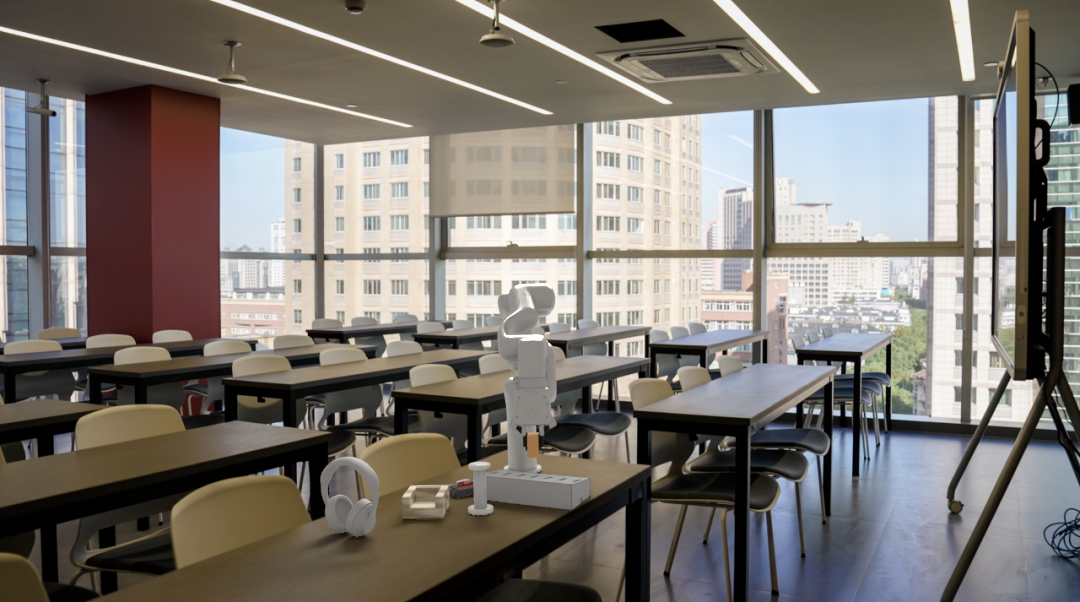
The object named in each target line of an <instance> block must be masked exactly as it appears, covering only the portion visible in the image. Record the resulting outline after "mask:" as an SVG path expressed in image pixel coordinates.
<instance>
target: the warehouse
mask: <svg viewBox="0 0 1080 602" xmlns="http://www.w3.org/2000/svg"><path fill="white" fill-rule="evenodd" d="M486 481H487V501H488V500H491V501H490V502H496V501H498V502H497V503H505V502H506V503H507V504H515V505H518V504H519V505H525V506H533V507H542V508H549V507H550V508H551V509H558V508H559V509H561V510H567V511H569V510H570V511H573V510H574V509H575V508H576V507H578V506H579V505H581V504H582V503H584V502H585V501H586V500H587V499H588V498H589V496H590V497H591V496H592V495H591V491H592V490H591V478H590V477H583V476H581V477H579V476H572V475H571V476H570V475H560V474H559V475H558V474H550V473H549V474H546V473H540V472H538V473H529V472H518V471H507V470H504V469H497V470H493V471H488V472H487V471H486ZM550 508H549V509H550Z"/></svg>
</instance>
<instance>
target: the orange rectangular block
mask: <svg viewBox="0 0 1080 602" xmlns="http://www.w3.org/2000/svg"><path fill="white" fill-rule="evenodd" d="M538 436H539V432H537V431H536V432H534V433H528V435H527V453H528V458H537V459H539V458H540V450H539V443H538Z"/></svg>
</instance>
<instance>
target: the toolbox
mask: <svg viewBox="0 0 1080 602" xmlns="http://www.w3.org/2000/svg"><path fill="white" fill-rule="evenodd" d="M448 485H449V494H450V495H451V494H452V495H451V496H452V497H453V498H454V497H455V496H456V498H457V497H462V498H464V497H463V496H467V497H469V496H468V495H472V496H474V495H473V494H474V486H473V480H471V479H469V478H464V479H457V480H455V482H454V483H451V484H448Z"/></svg>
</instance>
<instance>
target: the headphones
mask: <svg viewBox="0 0 1080 602" xmlns="http://www.w3.org/2000/svg"><path fill="white" fill-rule="evenodd" d="M342 466H343V467H344V466H347V467H350V468H352V469H354V470H355V471H357V473H358V474H359V475H360V476H361V477H362V479H363V481H364V482H365V484H366V486H367V487H368V490H369V492H370V495H371V501H370V500H369V499H367V498H361V499H360V500H358V501H357V502H356V503H355V504H353V502H352V500H351V499H350V498H349V497H348V496H346V495H344V494H337V495H334V496H331V498H330V497H329V494H328V493H329V492H328V491H329V489H328V488H329V484H330V482H331V480H332V478H333V475H334V474H335V472H336V471H337V469H338V468H340V467H342ZM319 482H320V492H321V496H322V500H323V503H324V505H325V509H324V515H325V520H326V523H327V525H328V527H329V528H330V529H331V530H332V531H333V533H335V534H338V533H341V532H346V533H349V534H350V535H351V536H353V537H354V536H359V535H362V534H363V535H365V534H366V535H368V534H369V533H371V532H372V530H373V529H374V528H375V525H376V523H377V517H376V514H377V508H378V506H379V499H380V495H379V489H380V488H379V487H380V479H379V476H378V474H377V473H376V472H375V469H373V467H371V465H369V464H368V462H366V461H364V460H363V459H360V458H357V457H354V456H342V457H338V458H336V459H333V460H332V461H331V462H330V463H328V464H327V465H326V466H325V468H323V471H322V472H321V475H320V481H319ZM363 535H362V536H363Z"/></svg>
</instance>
